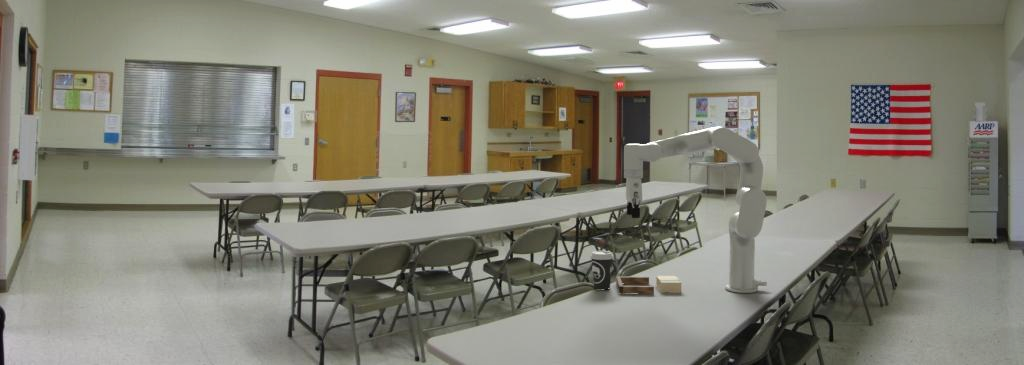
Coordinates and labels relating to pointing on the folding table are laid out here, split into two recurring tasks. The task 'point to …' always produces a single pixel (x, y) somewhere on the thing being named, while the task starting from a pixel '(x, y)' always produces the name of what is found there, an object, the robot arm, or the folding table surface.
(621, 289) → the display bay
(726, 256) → the folding table surface
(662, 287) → the carton
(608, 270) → the coffee cup
